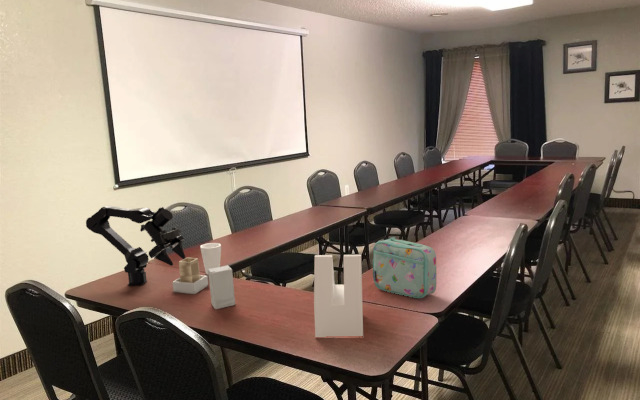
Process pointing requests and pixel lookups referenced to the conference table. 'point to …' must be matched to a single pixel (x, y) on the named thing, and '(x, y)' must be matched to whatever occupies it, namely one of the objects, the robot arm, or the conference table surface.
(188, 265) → the birch caddy
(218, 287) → the skincare box
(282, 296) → the conference table surface
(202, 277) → the white tray
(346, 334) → the white notched block
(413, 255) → the lunch box
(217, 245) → the foam cup
